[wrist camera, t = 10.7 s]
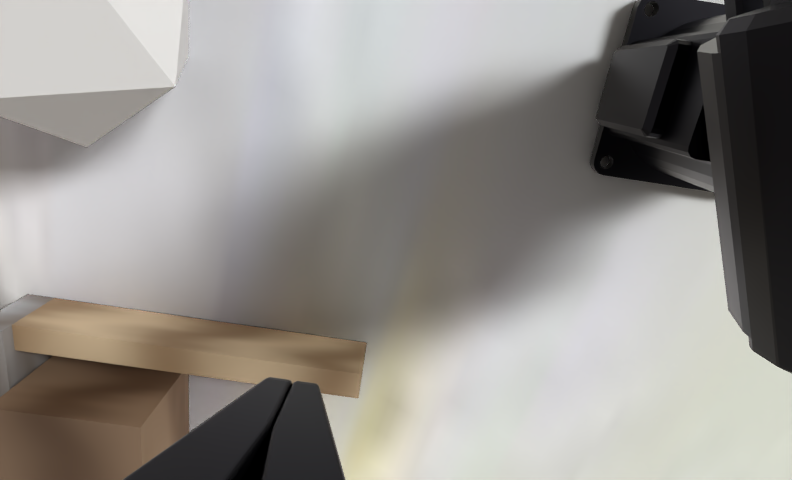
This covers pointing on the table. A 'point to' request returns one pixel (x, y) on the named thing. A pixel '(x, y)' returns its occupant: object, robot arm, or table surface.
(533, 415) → the table surface
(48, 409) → the walnut block
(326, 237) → the table surface
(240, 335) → the tunnel
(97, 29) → the die
